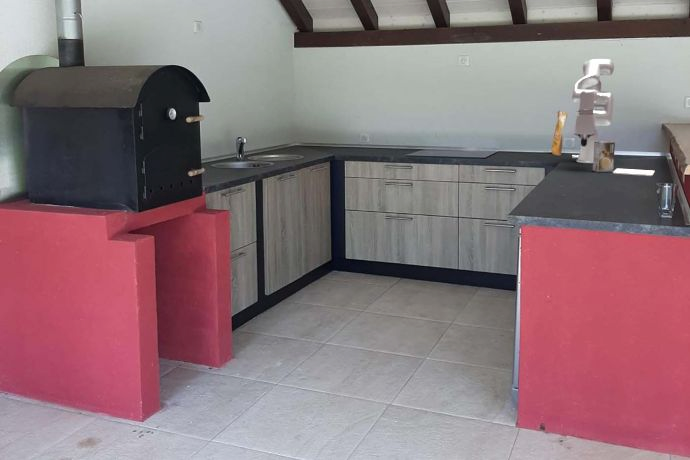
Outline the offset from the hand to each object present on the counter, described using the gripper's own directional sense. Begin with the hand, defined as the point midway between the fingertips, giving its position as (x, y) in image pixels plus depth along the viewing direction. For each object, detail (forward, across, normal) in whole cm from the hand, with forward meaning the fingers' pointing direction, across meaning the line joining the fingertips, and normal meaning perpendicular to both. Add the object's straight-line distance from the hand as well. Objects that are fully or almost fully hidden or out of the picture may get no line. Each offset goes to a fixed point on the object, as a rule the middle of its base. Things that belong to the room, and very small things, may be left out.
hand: (583, 146), depth 406 cm
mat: (+13, +27, +1) cm, 30 cm away
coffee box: (+13, +11, +1) cm, 17 cm away
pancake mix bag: (+12, -28, +72) cm, 78 cm away
